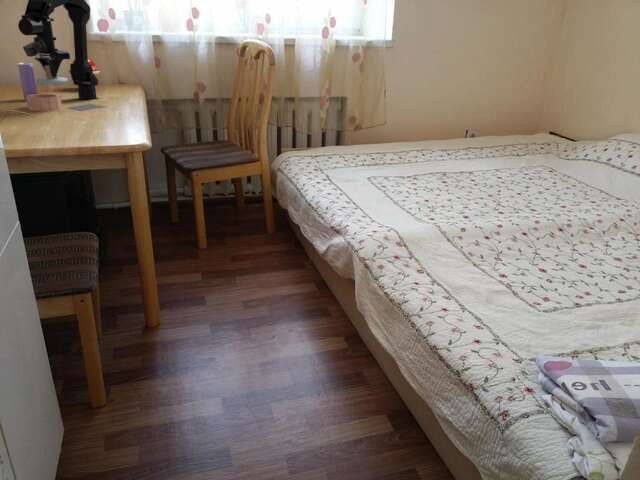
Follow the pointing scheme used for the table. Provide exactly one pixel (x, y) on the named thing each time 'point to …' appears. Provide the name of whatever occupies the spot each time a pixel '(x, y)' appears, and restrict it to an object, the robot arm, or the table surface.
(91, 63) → the decorative mushroom
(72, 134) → the table surface
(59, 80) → the lid
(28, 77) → the purple rectangular block
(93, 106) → the mat
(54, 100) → the bowl
